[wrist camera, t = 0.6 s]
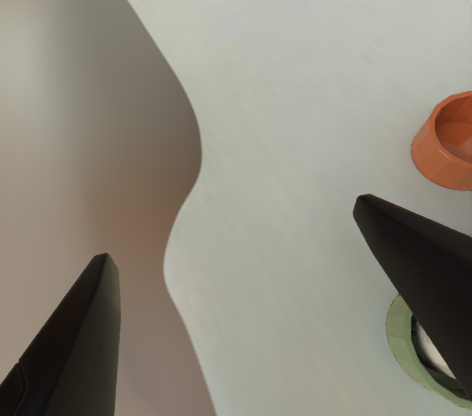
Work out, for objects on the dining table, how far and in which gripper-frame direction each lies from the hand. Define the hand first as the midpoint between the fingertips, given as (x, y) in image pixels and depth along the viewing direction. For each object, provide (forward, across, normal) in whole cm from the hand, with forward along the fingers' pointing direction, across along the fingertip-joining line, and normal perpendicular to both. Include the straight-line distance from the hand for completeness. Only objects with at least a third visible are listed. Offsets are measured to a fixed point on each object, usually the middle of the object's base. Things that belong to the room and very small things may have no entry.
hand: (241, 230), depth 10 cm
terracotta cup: (+10, -22, +7) cm, 25 cm away
